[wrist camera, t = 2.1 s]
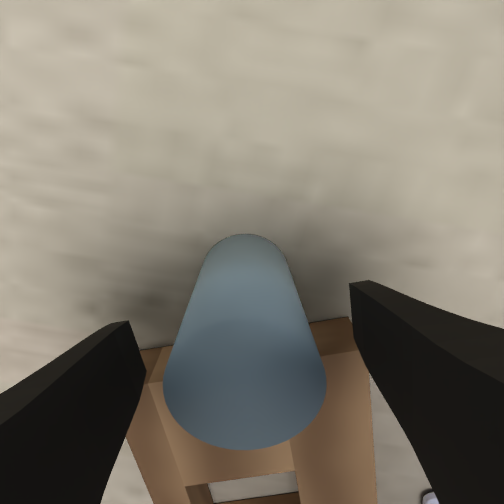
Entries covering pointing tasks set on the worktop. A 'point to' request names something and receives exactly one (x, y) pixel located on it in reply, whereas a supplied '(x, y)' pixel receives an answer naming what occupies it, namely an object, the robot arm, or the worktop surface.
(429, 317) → the robot arm
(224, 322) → the peg
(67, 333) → the worktop surface
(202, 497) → the socket board
